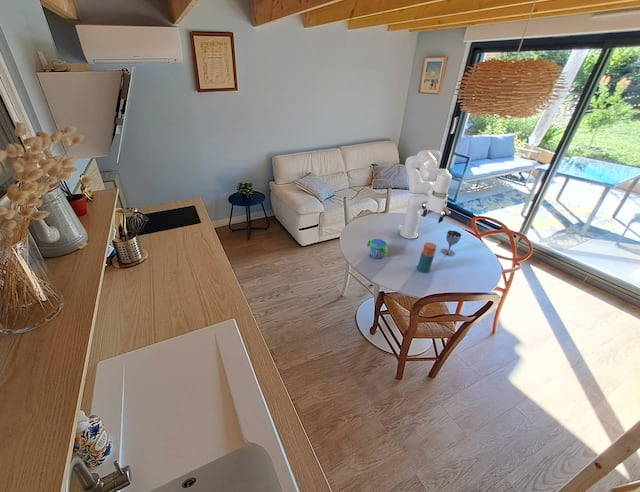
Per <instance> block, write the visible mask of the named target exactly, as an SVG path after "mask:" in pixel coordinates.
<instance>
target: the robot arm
mask: <svg viewBox="0 0 640 492" xmlns="http://www.w3.org/2000/svg"><path fill="white" fill-rule="evenodd" d="M441 160H442V153H441V152H440V150H437V149H423V150H420V151H419V152H418V153H417V154H416V155H411V156H407V157H406V159H405V163H404V167H405V171H406V174H407V178H408V189H409V193H410V195H411V196H410V197H408V199H407V209H406V213H405V217H404V221H403V222H404V223H403V225H401V224H398V227H397V228H398V229H399V230H400V231H399V235H400V237H403V238H404V239H409V240H414V239H417V238H418V236H419V234H418V232H417V231H418V229H419V228H418V227H419V224H420V220H421V217H423V218H424V217H427V215H428V211H431V212H434V213H437V214H439V218H438V221H437V223H438V224H440V223H442V222H443V221H444V218H446V217H447V216H449V215H450V214H451V210H449V209H448V208H447V205H448V198H449V197H450V194H449V188H450V185H451V182H452V178H453V175H452V174H451V173H450V172H449V170H448V169H447V168H437V165H438V164H439V163H440V162H441ZM418 169H419V170H418ZM433 182H434V183H433ZM420 210H422V211H423V212H422V216H421V212H420Z"/></svg>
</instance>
